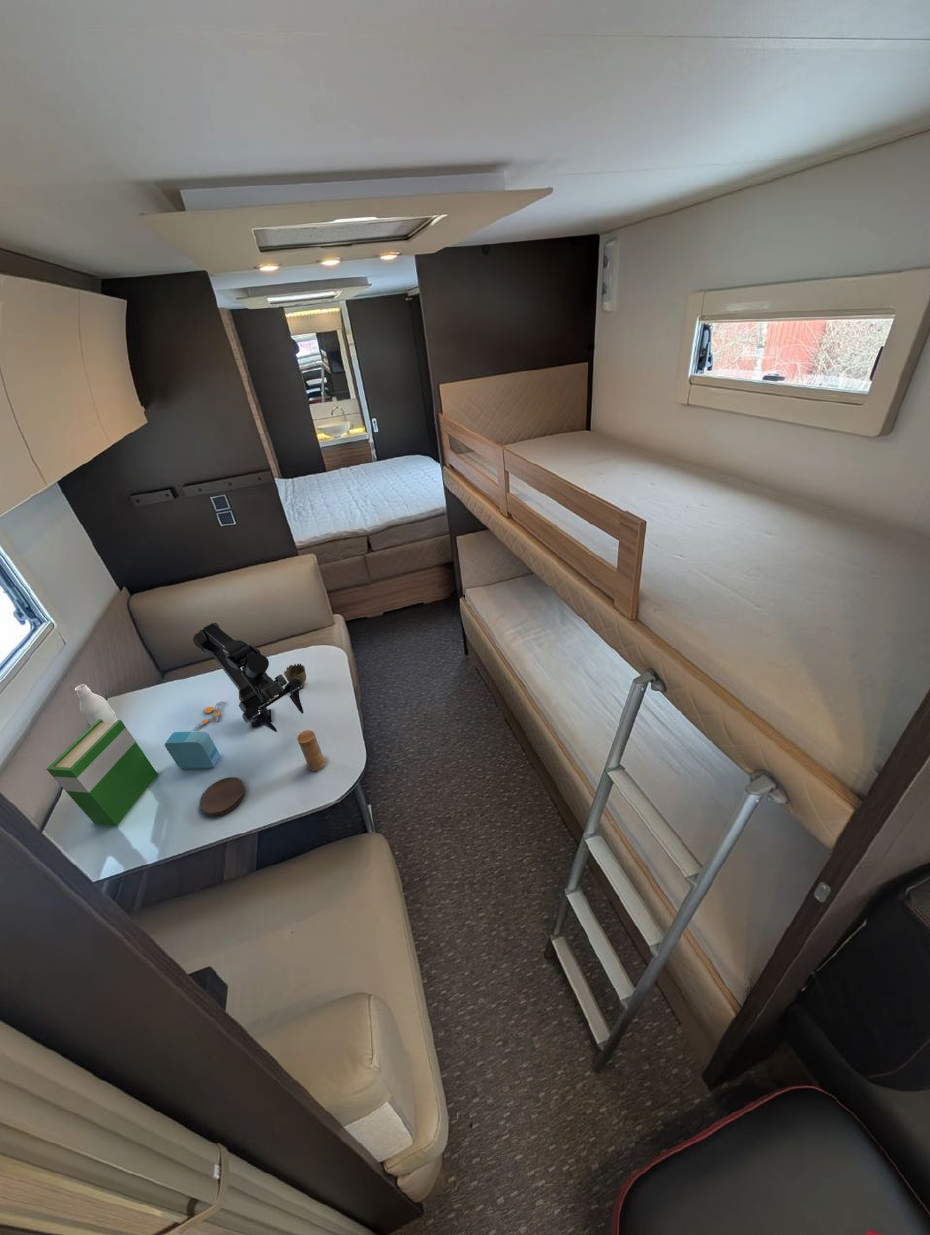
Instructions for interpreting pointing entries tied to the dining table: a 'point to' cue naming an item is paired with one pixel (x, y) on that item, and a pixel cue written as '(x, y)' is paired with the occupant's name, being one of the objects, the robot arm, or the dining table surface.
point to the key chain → (213, 714)
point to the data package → (192, 749)
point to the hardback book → (104, 772)
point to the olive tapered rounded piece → (295, 673)
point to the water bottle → (94, 706)
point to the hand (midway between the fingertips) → (290, 722)
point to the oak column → (311, 750)
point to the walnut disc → (222, 797)
